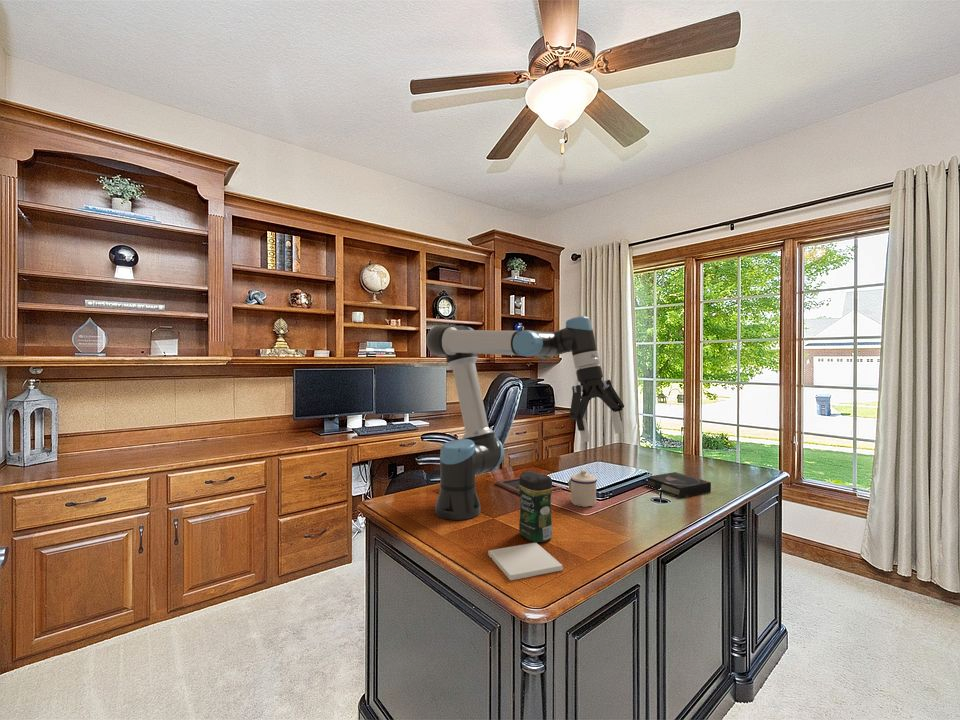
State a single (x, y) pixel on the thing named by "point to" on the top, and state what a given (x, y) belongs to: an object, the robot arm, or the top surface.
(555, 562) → the coaster board
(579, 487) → the teacup with lid
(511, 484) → the picture frame
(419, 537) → the top surface
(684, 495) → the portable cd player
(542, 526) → the coffee jar
